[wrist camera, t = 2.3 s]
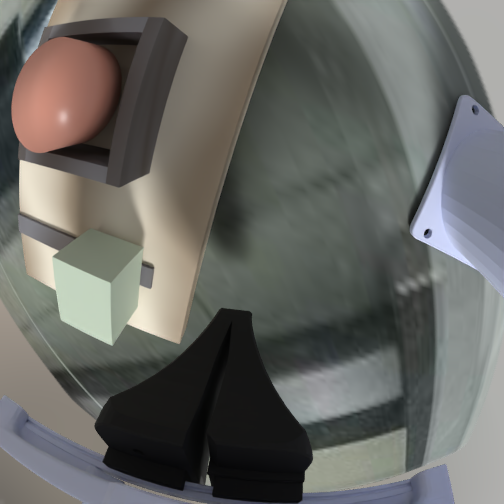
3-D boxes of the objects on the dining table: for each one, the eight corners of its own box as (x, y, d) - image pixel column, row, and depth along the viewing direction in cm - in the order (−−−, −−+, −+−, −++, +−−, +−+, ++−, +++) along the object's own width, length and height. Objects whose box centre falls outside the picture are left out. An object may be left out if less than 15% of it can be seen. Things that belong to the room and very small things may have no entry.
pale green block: (143, 247, 12) (110, 282, 9) (137, 307, 13) (112, 345, 11) (90, 228, 12) (52, 256, 9) (91, 286, 13) (61, 319, 10)
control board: (308, -47, 6) (315, -92, 3) (186, 327, 16) (166, 376, 13) (103, -50, 6) (67, -71, 2) (39, 263, 16) (5, 292, 12)
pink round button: (141, 47, 7) (103, 32, 5) (115, 150, 9) (73, 162, 7) (66, 48, 7) (26, 43, 5) (47, 136, 9) (6, 146, 6)
